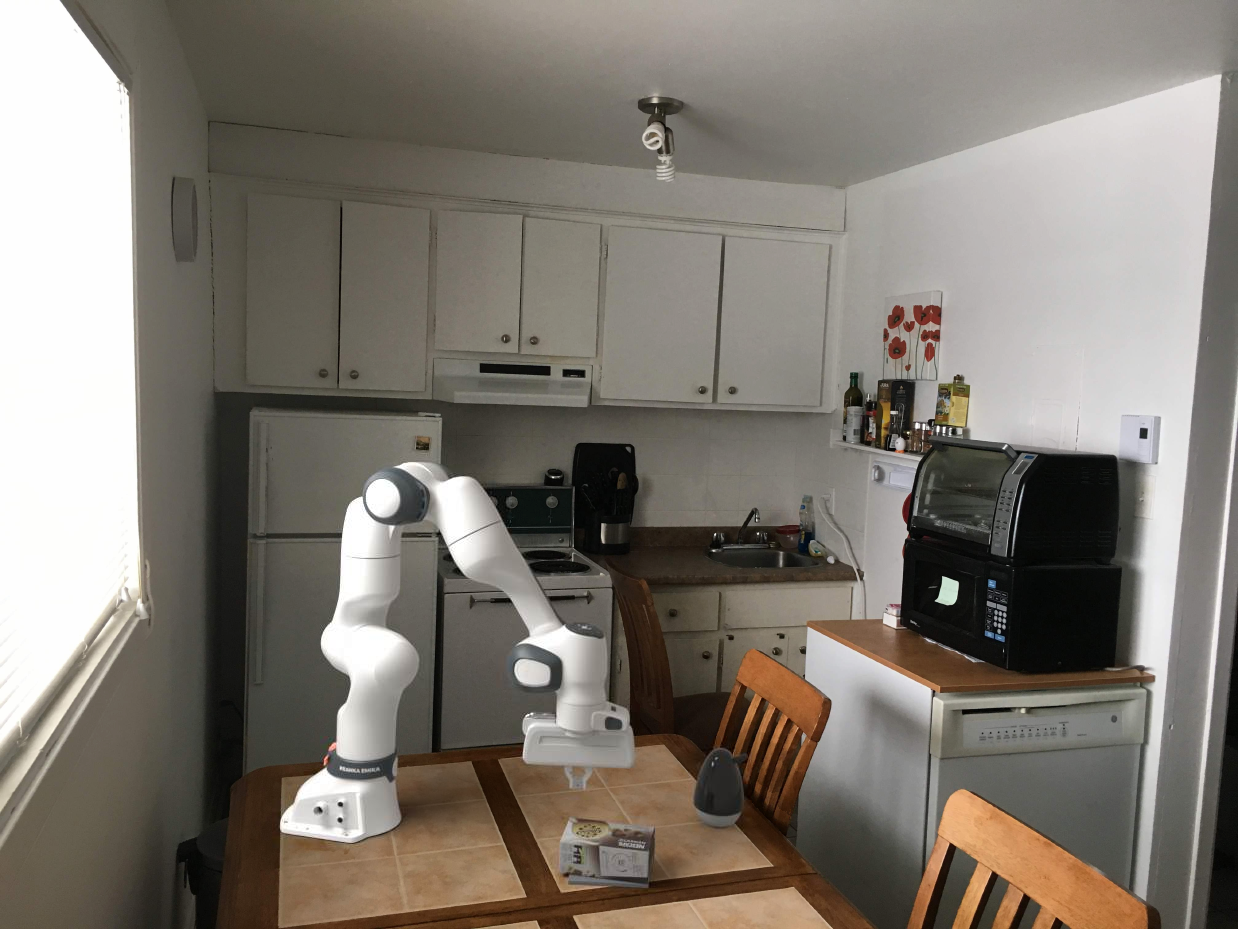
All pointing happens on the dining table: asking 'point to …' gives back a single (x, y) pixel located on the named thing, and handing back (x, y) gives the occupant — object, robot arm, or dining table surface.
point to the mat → (602, 882)
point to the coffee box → (607, 850)
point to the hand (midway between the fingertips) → (577, 788)
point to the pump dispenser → (719, 789)
